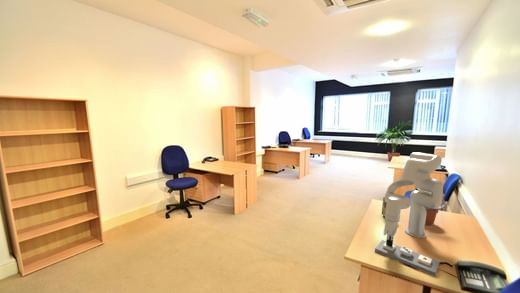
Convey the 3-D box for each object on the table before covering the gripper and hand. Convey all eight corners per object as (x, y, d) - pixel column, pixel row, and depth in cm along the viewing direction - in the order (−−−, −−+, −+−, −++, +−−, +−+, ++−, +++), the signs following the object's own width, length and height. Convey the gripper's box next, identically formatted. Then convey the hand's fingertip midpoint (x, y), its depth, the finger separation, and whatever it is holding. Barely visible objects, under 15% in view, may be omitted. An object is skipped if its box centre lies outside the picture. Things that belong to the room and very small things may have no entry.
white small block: (401, 251, 136) (402, 245, 136) (412, 255, 132) (413, 249, 132) (399, 255, 132) (399, 249, 132) (410, 259, 128) (411, 253, 128)
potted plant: (417, 216, 189) (422, 176, 185) (439, 223, 177) (445, 181, 172) (409, 220, 181) (414, 179, 176) (431, 228, 168) (437, 184, 163)
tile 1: (419, 260, 130) (419, 254, 129) (431, 264, 126) (431, 258, 126) (417, 264, 126) (417, 258, 126) (429, 269, 122) (430, 263, 122)
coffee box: (395, 219, 182) (397, 200, 180) (387, 219, 182) (389, 201, 179) (388, 214, 191) (389, 196, 189) (381, 214, 191) (382, 196, 188)
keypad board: (382, 242, 148) (382, 239, 148) (439, 264, 127) (439, 261, 127) (374, 251, 138) (375, 248, 138) (435, 276, 117) (435, 272, 117)
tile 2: (385, 246, 143) (385, 241, 142) (395, 250, 139) (395, 245, 138) (382, 250, 139) (383, 244, 138) (392, 254, 135) (393, 248, 134)
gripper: (389, 212, 143) (386, 238, 146) (381, 218, 133) (378, 247, 135) (402, 215, 138) (399, 243, 141) (395, 223, 128) (392, 252, 130)
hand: (389, 245), depth 138 cm, fingers closed
